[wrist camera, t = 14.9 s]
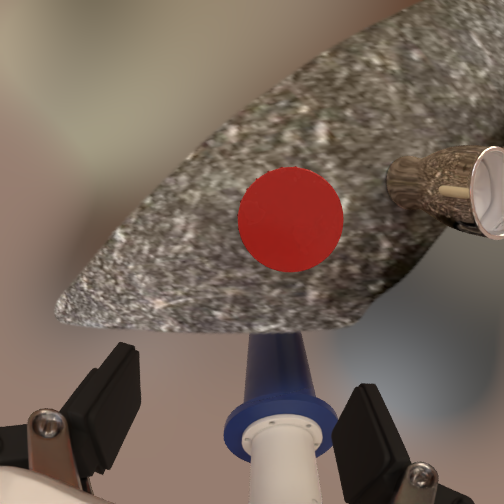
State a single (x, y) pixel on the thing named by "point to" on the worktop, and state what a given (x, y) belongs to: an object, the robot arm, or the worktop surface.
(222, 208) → the worktop surface
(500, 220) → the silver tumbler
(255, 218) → the red lid
